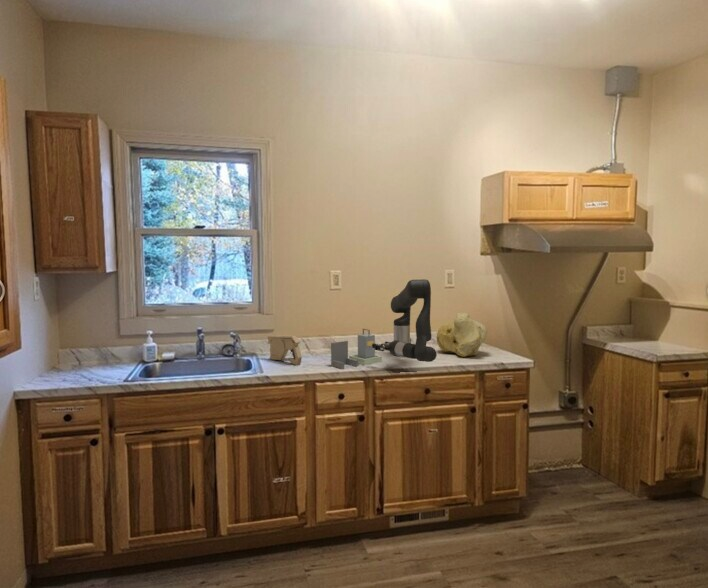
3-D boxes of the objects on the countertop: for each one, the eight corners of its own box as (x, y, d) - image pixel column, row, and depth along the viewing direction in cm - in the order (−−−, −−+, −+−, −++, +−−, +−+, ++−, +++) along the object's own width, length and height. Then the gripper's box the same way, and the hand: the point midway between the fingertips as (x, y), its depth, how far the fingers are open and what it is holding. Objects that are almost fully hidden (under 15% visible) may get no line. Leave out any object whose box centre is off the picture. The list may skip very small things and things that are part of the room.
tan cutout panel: (302, 364, 262) (300, 335, 262) (298, 365, 260) (295, 336, 260) (273, 362, 279) (271, 335, 279) (269, 363, 277) (267, 336, 276)
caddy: (366, 359, 272) (366, 327, 271) (375, 361, 267) (374, 329, 265) (357, 360, 269) (357, 329, 267) (366, 363, 263) (366, 330, 262)
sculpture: (459, 329, 264) (434, 305, 290) (452, 371, 275) (429, 344, 301) (500, 324, 272) (472, 301, 298) (492, 365, 282) (465, 340, 308)
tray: (366, 358, 278) (366, 352, 277) (381, 362, 267) (381, 356, 267) (348, 361, 270) (348, 355, 270) (364, 365, 260) (364, 359, 260)
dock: (346, 363, 265) (346, 340, 264) (358, 366, 258) (357, 343, 257) (331, 365, 259) (330, 342, 258) (342, 369, 251) (342, 345, 250)
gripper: (411, 339, 251) (389, 335, 263) (390, 343, 242) (368, 338, 255) (411, 354, 251) (389, 349, 264) (390, 358, 243) (368, 353, 255)
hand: (378, 344), depth 259 cm, fingers open, 8 cm apart
